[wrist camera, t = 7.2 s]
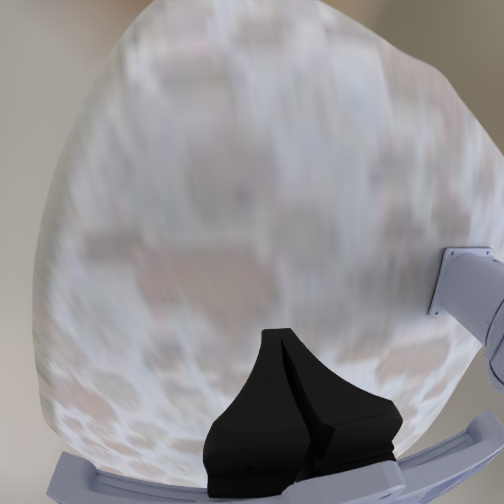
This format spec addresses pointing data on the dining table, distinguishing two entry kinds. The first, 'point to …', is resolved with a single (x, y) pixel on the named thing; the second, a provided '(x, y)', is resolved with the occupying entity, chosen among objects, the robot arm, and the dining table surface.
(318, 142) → the dining table surface
